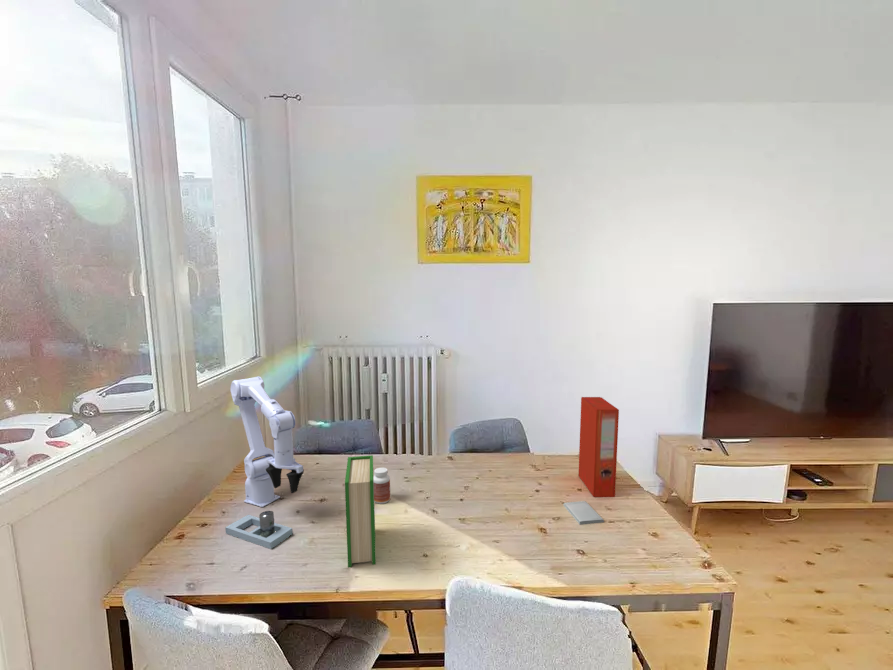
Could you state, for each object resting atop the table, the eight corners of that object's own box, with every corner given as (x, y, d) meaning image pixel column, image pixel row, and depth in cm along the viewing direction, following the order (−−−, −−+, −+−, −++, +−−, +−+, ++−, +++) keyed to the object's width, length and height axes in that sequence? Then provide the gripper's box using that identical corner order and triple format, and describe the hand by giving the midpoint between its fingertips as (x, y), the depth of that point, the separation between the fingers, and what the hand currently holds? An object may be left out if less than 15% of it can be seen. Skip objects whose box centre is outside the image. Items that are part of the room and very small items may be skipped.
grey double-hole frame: (225, 533, 136) (225, 527, 136) (248, 520, 144) (248, 514, 144) (270, 549, 128) (270, 542, 128) (292, 534, 136) (292, 528, 135)
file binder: (598, 476, 175) (601, 396, 171) (615, 497, 157) (618, 409, 154) (578, 476, 174) (580, 397, 171) (593, 497, 157) (595, 409, 154)
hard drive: (603, 519, 141) (585, 500, 153) (579, 521, 139) (563, 502, 152) (603, 524, 141) (585, 504, 153) (579, 526, 140) (563, 506, 152)
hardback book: (375, 564, 121) (373, 480, 118) (347, 567, 120) (344, 482, 117) (375, 529, 138) (372, 455, 135) (350, 531, 137) (348, 457, 134)
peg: (257, 537, 134) (256, 515, 133) (269, 530, 137) (268, 509, 136) (266, 541, 132) (264, 519, 131) (277, 534, 135) (276, 513, 134)
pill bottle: (393, 501, 156) (392, 471, 155) (377, 506, 153) (376, 475, 151) (385, 494, 161) (385, 465, 160) (370, 498, 158) (369, 469, 156)
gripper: (309, 449, 144) (311, 488, 146) (277, 441, 151) (279, 480, 152) (292, 456, 138) (294, 498, 139) (260, 448, 144) (262, 488, 146)
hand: (285, 489), depth 145 cm, fingers open, 7 cm apart
